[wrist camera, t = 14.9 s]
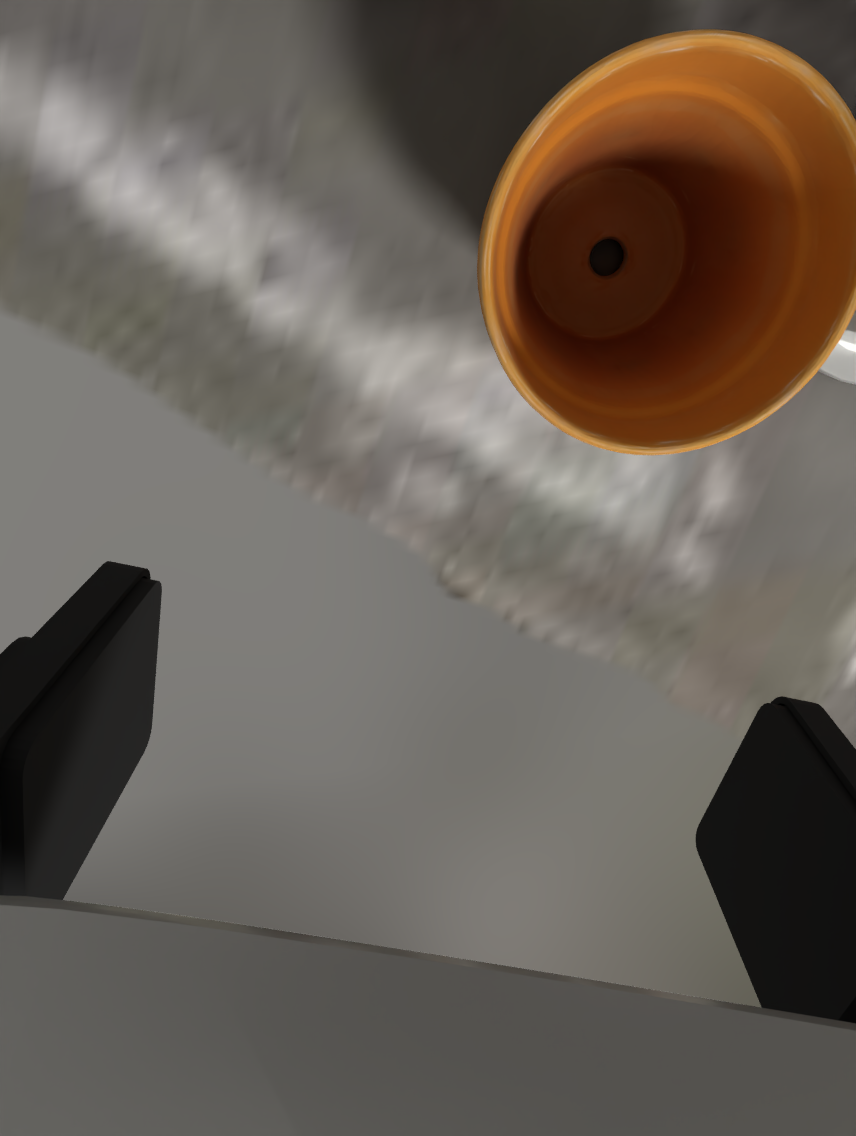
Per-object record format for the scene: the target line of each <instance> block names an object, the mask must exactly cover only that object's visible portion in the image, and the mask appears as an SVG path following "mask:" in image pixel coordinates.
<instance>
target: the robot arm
mask: <svg viewBox="0 0 856 1136" xmlns="http://www.w3.org/2000/svg"><path fill="white" fill-rule="evenodd" d="M818 371H819V372H821V373H822V374H825V375H827V376H830V377H832V378H834V379H837V380H839V381H843V382H847V383H851V384H855V385H856V310H855V312H854V314H853V316H852V318H851V320H850V322H849V324H848V326H847V328H846V330H845V332H844V333H843V335H842V337H841V339H840V341H839V342H838V343H837V345H836V346H835V348H834V349H833V351H832V352H831V354H830V355H829V357H828V358H827V360H826V361H825V363H824V364H823V365H822V366H821V368H820V369H819V370H818ZM161 593H162V587H161V583H160V582H159V581H155V580H150V572H149V570H148V569H145V568H140V567H135V566H130V565H125V564H120V563H116V562H109V561H107V562H106V563H104V564H103V565H102V566H101V567H100V568H99V569H98V570H97V571H96V572H95V573H94V574H93V575H92V576H91V577H90V578H89V579H88V580H87V581H86V582H85V583H84V584H83V585H82V586H81V588H80V589H79V590H78V591H77V592H76V593H75V594H74V595H73V596H72V597H71V598H70V599H69V600H68V601H67V602H66V603H65V604H64V605H63V606H62V607H61V608H60V609H59V610H58V611H57V612H56V613H55V614H54V615H53V617H51V618H50V619H49V620H48V621H47V622H46V623H45V625H44V626H43V627H42V628H41V629H40V630H39V631H38V632H37V633H36V634H35V635H34V636H33V637H32V638H30V637H21V638H18V639H17V640H15V641H14V642H13V643H11V644H10V645H9V646H8V647H7V648H6V649H5V650H4V651H3V652H2V653H1V654H0V1136H856V749H855V748H854V747H853V745H852V744H851V743H850V742H849V740H848V739H847V738H846V737H845V735H844V734H843V733H842V732H841V730H840V729H839V728H838V726H837V725H836V724H835V723H834V721H833V720H832V719H831V718H830V716H829V715H828V714H827V713H826V711H825V710H824V709H823V708H822V707H821V706H820V705H819V704H816V703H812V702H807V701H802V700H797V699H792V698H787V697H782V696H781V697H777V698H776V699H774V700H773V701H772V702H771V703H766V704H764V705H763V706H761V708H760V709H759V710H758V712H757V714H756V716H755V718H754V720H753V722H752V724H751V726H750V728H749V730H748V731H747V733H746V735H745V737H744V739H743V741H742V743H741V745H740V747H739V749H738V751H737V753H736V754H735V757H734V758H733V760H732V763H731V764H730V766H729V768H728V770H727V772H726V774H725V776H724V778H723V780H722V782H721V783H720V785H719V787H718V789H717V791H716V793H715V795H714V797H713V799H712V801H711V802H710V805H709V807H708V808H707V810H706V812H705V814H704V816H703V818H702V820H701V822H700V824H699V826H698V828H697V832H696V847H697V851H698V854H699V856H700V859H701V861H702V863H703V866H704V868H705V871H706V873H707V875H708V878H709V880H710V883H711V885H712V888H713V890H714V893H715V895H716V897H717V900H718V902H719V905H720V907H721V909H722V912H723V914H724V917H725V919H726V922H727V924H728V926H729V929H730V931H731V934H732V936H733V939H734V941H735V943H736V946H737V948H738V951H739V953H740V956H741V958H742V960H743V963H744V965H745V968H746V970H747V972H748V975H749V977H750V980H751V982H752V985H753V987H754V990H755V992H756V994H757V997H758V999H759V1002H760V1004H761V1007H762V1008H760V1007H755V1006H748V1005H743V1004H736V1003H730V1002H725V1001H719V1000H713V999H707V998H701V997H694V996H689V995H683V994H677V993H671V992H665V991H659V990H653V989H646V988H640V987H634V986H628V985H621V984H616V983H609V982H603V981H597V980H591V979H585V978H579V977H573V976H567V975H560V974H554V973H548V972H542V971H536V970H529V969H523V968H517V967H511V966H505V965H498V964H492V963H486V962H479V961H473V960H466V959H461V958H454V957H449V956H442V955H436V954H430V953H423V952H417V951H411V950H403V949H397V948H391V947H384V946H378V945H372V944H365V943H359V942H352V941H346V940H340V939H333V938H327V937H320V936H314V935H308V934H301V933H294V932H288V931H282V930H275V929H269V928H263V927H255V926H250V925H243V924H237V923H230V922H223V921H216V920H210V919H202V918H195V917H188V916H181V915H175V914H167V913H161V912H154V911H147V910H140V909H132V908H124V907H117V906H108V905H101V904H92V903H83V902H74V901H65V900H63V898H64V896H65V895H66V893H67V891H68V889H69V887H70V885H71V883H72V882H73V880H74V878H75V876H76V875H77V873H78V871H79V869H80V867H81V865H82V864H83V862H84V860H85V858H86V857H87V855H88V853H89V851H90V849H91V848H92V846H93V844H94V842H95V840H96V838H97V837H98V835H99V833H100V831H101V829H102V828H103V825H104V824H105V822H106V820H107V818H108V817H109V815H110V813H111V811H112V809H113V808H114V806H115V804H116V802H117V800H118V799H119V797H120V795H121V793H122V791H123V789H124V788H125V786H126V784H127V782H128V781H129V779H130V777H131V775H132V773H133V771H134V770H135V768H136V766H137V764H138V762H139V761H140V758H141V757H142V755H143V753H144V751H145V749H146V747H147V744H148V741H149V738H150V734H151V729H152V717H153V704H154V690H155V676H156V675H155V674H156V663H157V649H158V635H159V621H160V608H161Z"/></svg>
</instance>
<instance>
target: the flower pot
mask: <svg viewBox="0 0 856 1136" xmlns="http://www.w3.org/2000/svg"><path fill="white" fill-rule="evenodd" d="M605 239H613V240H615V241H617V242H618V243H619V244H620V245H621V246H622V248H623V252H624V258H623V262H622V265H621V266H620V268H619V269H618V270H617V271H616V272H615V273H613V274H611V275H608V276H601V275H598V274H597V273H595V272H594V270H593V269H592V267H591V265H590V254H591V251H592V249H593V248H594V246H595V245H596V244H597V243H598V242H599V241H601V240H605ZM477 277H478V290H479V297H480V304H481V309H482V314H483V318H484V321H485V325H486V329H487V332H488V335H489V337H490V340H491V343H492V345H493V348H494V350H495V352H496V354H497V357H498V359H499V361H500V363H501V365H502V367H503V369H504V371H505V372H506V374H507V376H508V377H509V379H510V381H511V382H512V384H513V385H514V387H515V388H516V389H517V391H518V392H519V393H520V395H521V396H522V397H523V398H524V399H525V400H526V401H527V402H528V403H529V405H530V406H531V407H532V408H533V409H535V410H536V411H537V412H538V413H539V414H540V415H541V416H542V417H544V418H545V419H546V420H547V421H549V422H550V423H551V424H553V425H554V426H556V427H557V428H559V429H560V430H562V431H563V432H565V433H567V434H568V435H570V436H572V437H574V438H576V439H578V440H580V441H582V442H585V443H587V444H590V445H593V446H596V447H599V448H602V449H606V450H610V451H615V452H619V453H626V454H634V455H663V454H674V453H681V452H686V451H691V450H695V449H699V448H703V447H706V446H709V445H712V444H715V443H718V442H721V441H723V440H726V439H728V438H731V437H733V436H735V435H737V434H739V433H741V432H743V431H745V430H747V429H749V428H751V427H753V426H754V425H756V424H757V423H759V422H761V421H762V420H764V419H765V418H767V417H768V416H770V415H771V414H772V413H774V412H775V411H777V410H778V409H779V408H780V407H782V406H783V405H784V404H785V403H786V402H788V401H789V400H790V399H791V398H792V397H793V396H794V395H795V394H796V393H797V392H799V391H800V390H801V389H802V388H803V387H804V386H805V385H806V384H807V382H808V381H809V380H810V379H811V378H812V377H813V376H814V375H815V374H816V373H817V371H818V370H819V369H820V368H821V366H822V365H823V364H824V363H825V361H826V360H827V358H828V357H829V355H830V354H831V352H832V351H833V349H834V348H835V346H836V345H837V343H838V342H839V341H840V339H841V337H842V335H843V333H844V332H845V330H846V328H847V326H848V324H849V322H850V320H851V318H852V316H853V314H854V312H855V310H856V120H855V119H854V117H853V115H852V113H851V111H850V109H849V107H848V106H847V105H846V103H845V102H844V101H843V99H842V98H841V96H840V95H839V94H838V92H837V91H836V90H835V89H834V88H833V86H832V85H831V84H830V83H829V82H828V81H827V80H826V79H825V78H824V77H823V75H822V74H820V73H819V72H818V71H817V70H816V69H814V68H813V67H812V66H811V65H810V64H809V63H807V62H806V61H804V60H803V59H802V58H800V57H799V56H797V55H796V54H794V53H792V52H791V51H789V50H787V49H785V48H783V47H781V46H779V45H777V44H775V43H773V42H770V41H768V40H765V39H762V38H760V37H757V36H754V35H750V34H747V33H741V32H735V31H728V30H717V29H698V30H688V31H680V32H673V33H667V34H663V35H659V36H655V37H652V38H648V39H644V40H642V41H639V42H636V43H633V44H631V45H629V46H626V47H624V48H622V49H620V50H618V51H615V52H613V53H612V54H610V55H608V56H606V57H604V58H603V59H601V60H599V61H598V62H596V63H595V64H593V65H592V66H590V67H588V68H587V69H586V70H584V71H583V72H582V73H580V74H579V75H578V76H576V77H575V78H574V79H572V80H571V81H570V82H569V83H568V84H567V85H566V86H564V87H563V88H562V89H561V90H560V91H559V92H558V93H557V94H556V95H555V96H554V97H553V98H552V99H551V100H550V101H549V102H548V103H547V104H546V105H545V106H544V107H543V108H542V110H541V111H540V112H539V113H538V114H537V116H536V117H535V118H534V119H533V120H532V122H531V123H530V124H529V126H528V127H527V128H526V130H525V131H524V132H523V134H522V135H521V137H520V138H519V140H518V141H517V143H516V144H515V146H514V147H513V149H512V151H511V152H510V154H509V156H508V158H507V159H506V161H505V163H504V165H503V167H502V169H501V171H500V173H499V175H498V177H497V180H496V182H495V185H494V187H493V190H492V192H491V195H490V197H489V200H488V204H487V207H486V210H485V214H484V218H483V223H482V227H481V233H480V239H479V247H478V263H477Z"/></svg>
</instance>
